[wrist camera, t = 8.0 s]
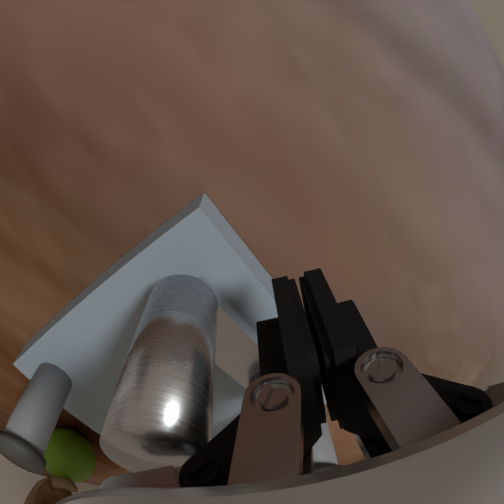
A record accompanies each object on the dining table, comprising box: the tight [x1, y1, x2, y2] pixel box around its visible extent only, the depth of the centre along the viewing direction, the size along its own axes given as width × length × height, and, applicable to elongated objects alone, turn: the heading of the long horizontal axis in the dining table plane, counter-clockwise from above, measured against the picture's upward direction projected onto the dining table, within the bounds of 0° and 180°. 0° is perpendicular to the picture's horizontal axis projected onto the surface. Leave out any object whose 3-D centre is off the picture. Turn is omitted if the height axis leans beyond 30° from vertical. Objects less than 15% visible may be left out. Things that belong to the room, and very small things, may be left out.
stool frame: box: [0, 193, 341, 474], centre depth 15 cm, size 17×14×9 cm
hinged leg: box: [99, 274, 260, 473], centre depth 11 cm, size 8×3×8 cm, turn 37°
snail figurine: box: [24, 428, 95, 504], centre depth 18 cm, size 5×6×12 cm
